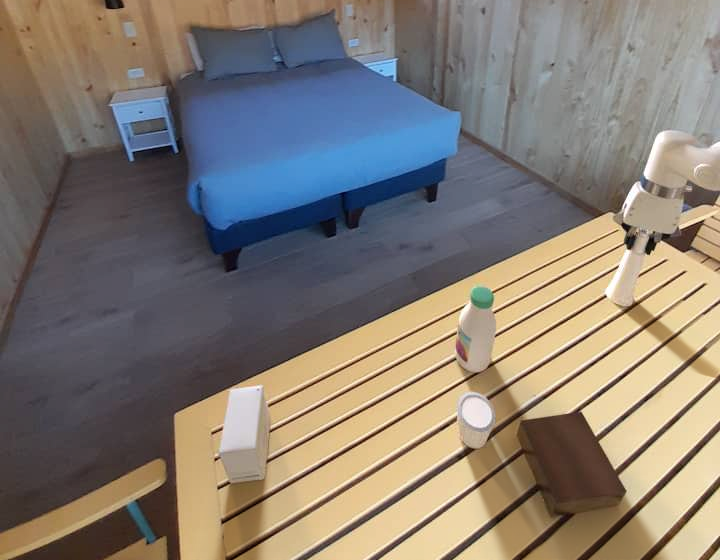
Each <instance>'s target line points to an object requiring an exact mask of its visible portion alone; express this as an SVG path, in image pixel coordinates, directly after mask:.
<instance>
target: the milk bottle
mask: <svg viewBox="0 0 720 560" xmlns="http://www.w3.org/2000/svg"><path fill="white" fill-rule="evenodd" d="M494 301H495V296H494V293H493V291H492V290H491V289H489V288H487V287H486V286H484V285H483V286H482V285H477V286H474V287H473V288H472V289H471V290H470V294H469V303H468V304H466V305H465V306H464V308H462V310H461V312H460V315H459V317H458V318H459V319H458V324H457V331H456V336H455V337H456V339H455V344H454V356H455V359H456V362H457V363H458V365H460V366H461V367H462V368H463V369H464V370H466V371H467V372H471V373H481V372H483V371H485V370H486V369H487V368H489V365H490V362H491V360H492V359H491V358H492V354H493V349H494V343H495V338H496V331H497V319H496V315H495V314H494V312H493V306H494Z"/></svg>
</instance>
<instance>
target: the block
mask: <svg viewBox="0 0 720 560" xmlns="http://www.w3.org/2000/svg"><path fill="white" fill-rule="evenodd" d="M516 437H517V440H518V443H519V442H520V443H519V445H520V448H521V450H522V452H523V455H524V457H525V459H526V462H527V463H528V467H529V469H530V471H532V472H531V474H532V477H533V479H534V478H535V479H534V482H535V484H536V486H537V488H538V491H539V493H540V496H541V498H542V500H544V501H543V503H544V505H546V506H545V508H546V511H547V513H548V516H549V517H550V518H557V517H563V516H569V515H574V514H581V513H585V512H592V511H596V510H602V509H607V508H615V507H619V506H620V504H621V502H622V500H623V499H624V497H625V495H626V494H627V489H626V488H625V486H624V484H623V482H622V481H621V479H620V477H619V475H618V472H617V471H616V470H615V468H614V466H613V464H612V463H611V461H610V459H609V457H608V455H607V454H606V452H605V450H604V449H603V447H602V445H601V443H600V442H599V440H598V438H597V436H596V435H595V432H594V431H593V429H592V428H591V425H590V423H589V422H588V421H587V419H586V417H585V415H584V413H583V412H582V411H576V412H570V413H563V414H562V413H561V414H556V415H549V416H543V417H542V416H541V417H536V418H528V419H522V420H520V421H519V424H518V429H517V432H516Z"/></svg>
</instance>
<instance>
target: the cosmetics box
mask: <svg viewBox="0 0 720 560" xmlns="http://www.w3.org/2000/svg"><path fill="white" fill-rule="evenodd" d="M264 389H265V388H264V385H262V384H260V385H252V386H245V387H236V388H230V390H229V393H228V399H227V404H226V410H225V414H224V415H225V416H224V420H223V426H222V431H221V437H220V442H219V448H218V456H219V458H220V461H221V463H222V466H223V469H224V471H225V473H226V476H227V479H228V481H229V484H236V483H242V482H243V483H244V482H251V481H261V480H264V479H266V470H267V463H268V461H267V459H268V452H269V451H268V450H269V439H270V430H271V429H270V427H271V412H270V408H269V405H268V401H267V398H266V394H265V390H264Z"/></svg>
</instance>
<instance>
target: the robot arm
mask: <svg viewBox="0 0 720 560" xmlns="http://www.w3.org/2000/svg"><path fill="white" fill-rule="evenodd" d="M701 146H702V145H701V142H700V139H698V138H697V137H696V136H694V135H693V134H691V133H688V132H684V131H680V130H674V129H672V130H670V129H668V130H663V131H661V132H659V133H658V134H657V135H656V137H655V140H654V142H653V145H652V148H651V151H650V154H649V156H648V159H647V163H646V165H645V167H644V171H643V173H642V177H641V180H640V181H636V182H635V183H634V184H633V185H632V187H631V188H630V191H629V193H628V194H627V197H626V198H625V200H624V203H623V205H622V208H621V210H620V211H619V212H617V213H615V214H614V215H613V216H612V219H613V222H615V224H617V225H618V226H620V227H621V228H622V229H623V230H624V232H625V235H624V238H623V245H625V246H626V250H631V248H632V245H633V243H634V240H635V233H636V231H638V229H639V228H643V229H647V230H648V231H652V232H651V233H649V240H648V243H647V245H646V248H645V255H647V256H650V255H651V253H652V252H654V251H655V250H656V247H657V245H658V244H660V243H661V241H664V240H667V239H669V238H677V237H682V232H681V229H680V226H679V223H680V220H681V217H682V214H683V213H682V212H683V208H684V201H685V196H684V193H685V192H686V193H687V192H689V193H691V192H692V191H693V185H689V184H687V182H688V181H690V182H691V183H693V184H695V185H697V186H698V187H700V188H702V189H705V190H708V191H713V192H718V191H720V141H718V142H716V143H714V144H712V145H710V146H709V147H707V148H706V147H705V148H702V147H701Z"/></svg>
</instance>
